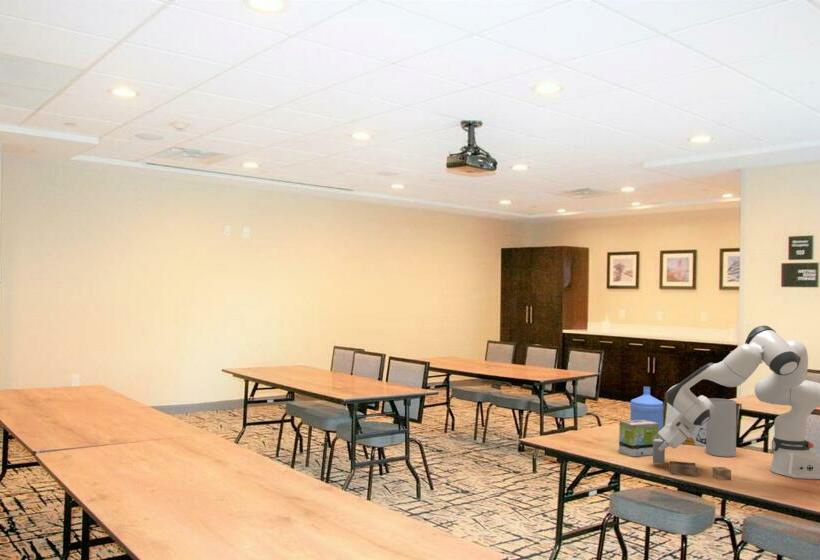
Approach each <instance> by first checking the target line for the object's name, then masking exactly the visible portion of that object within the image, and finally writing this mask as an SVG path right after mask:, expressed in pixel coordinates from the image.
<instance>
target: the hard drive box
mask: <svg viewBox="0 0 820 560" xmlns="http://www.w3.org/2000/svg"><path fill="white" fill-rule="evenodd" d="M682 444H683V445H689V446H691V445H693V446H699V447H705V448H706V422H705V423H704V424H703V425H702V426H699V425H697V426H696V428H695V429H694V430H693V431H692V436H691V437H690V438H687V439H686V440H685V441H684V442H683V443H682ZM682 444H681V445H682Z"/></svg>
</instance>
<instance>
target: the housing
mask: <svg viewBox="0 0 820 560" xmlns="http://www.w3.org/2000/svg"><path fill="white" fill-rule="evenodd" d="M664 442H665V441H664V440H662V439H654V440H653V455H652V463H653V464H659V465H660V464H664V465H665V459H666V458H665V457H666V456H665V453H666V452H665V451H666V448H665V449H664V450H663V451H659V449H658V447H659V446H661V445H662V444H663V443H664Z"/></svg>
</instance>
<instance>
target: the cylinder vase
mask: <svg viewBox="0 0 820 560" xmlns="http://www.w3.org/2000/svg"><path fill="white" fill-rule="evenodd" d="M708 399H709V400H710V401H711V402H712V403H713V404H714V407H715V408H714V410H713V411H712V413H711V414H710V419H708V420H707V421H706V447H705V448H706V451H705V452H706V453H707V454H708V455H709V456H710V455H711V456H715V457H720V458H721V457H722V458H733V457H735V456H736V455H737V401H736V400H734V399H728V398H727V399H726V398H719V397H718V398H716V397H714V398H713V397H711V398H708Z"/></svg>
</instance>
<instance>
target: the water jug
mask: <svg viewBox="0 0 820 560" xmlns="http://www.w3.org/2000/svg"><path fill="white" fill-rule="evenodd" d="M629 405H630V406H629V407H630V409H629V410H630V420H629V421H632V420H647V421H651V422H655V423H658V424H659V429H658V432H659V431H660V430H661V429H662V428H663V427H664V402H663V401H662V400H659V399H658V398H656V397H654V396H652V395H651V386H643V394H642V395H640V396H638V397H635V398H632V399H631V400H630V404H629ZM659 438H660V436H659V435H658V439H659Z"/></svg>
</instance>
